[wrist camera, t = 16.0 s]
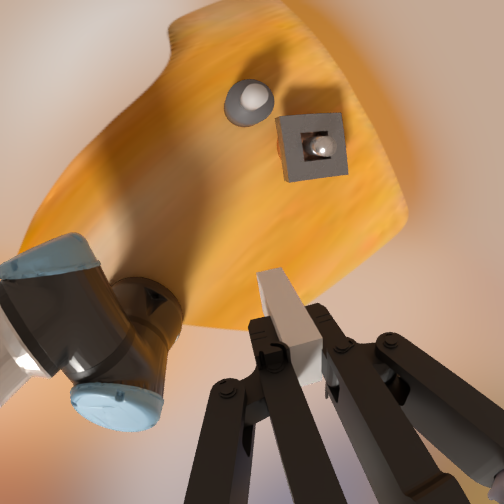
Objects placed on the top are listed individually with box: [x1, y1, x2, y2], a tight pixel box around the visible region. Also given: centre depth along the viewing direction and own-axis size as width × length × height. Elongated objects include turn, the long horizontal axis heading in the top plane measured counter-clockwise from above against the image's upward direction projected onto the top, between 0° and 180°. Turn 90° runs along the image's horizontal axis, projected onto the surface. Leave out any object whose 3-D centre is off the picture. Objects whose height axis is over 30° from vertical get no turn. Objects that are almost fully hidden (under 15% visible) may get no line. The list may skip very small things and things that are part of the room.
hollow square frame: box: [275, 113, 348, 183], centre depth 35 cm, size 9×9×2 cm
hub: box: [277, 131, 337, 160], centre depth 34 cm, size 8×8×9 cm
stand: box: [224, 79, 274, 127], centre depth 31 cm, size 6×6×10 cm
